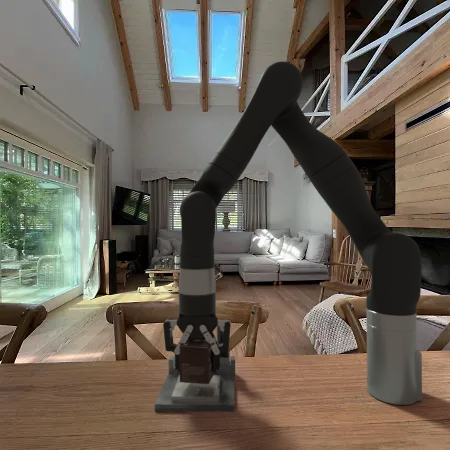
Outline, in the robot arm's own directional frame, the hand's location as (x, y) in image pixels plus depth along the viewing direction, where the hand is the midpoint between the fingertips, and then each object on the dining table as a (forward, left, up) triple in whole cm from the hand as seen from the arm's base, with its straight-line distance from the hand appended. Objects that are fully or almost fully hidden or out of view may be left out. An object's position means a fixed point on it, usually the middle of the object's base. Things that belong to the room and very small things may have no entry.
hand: (197, 370), depth 66 cm
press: (0, -2, -5) cm, 6 cm away
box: (0, 0, -1) cm, 1 cm away
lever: (-5, -9, -2) cm, 10 cm away
